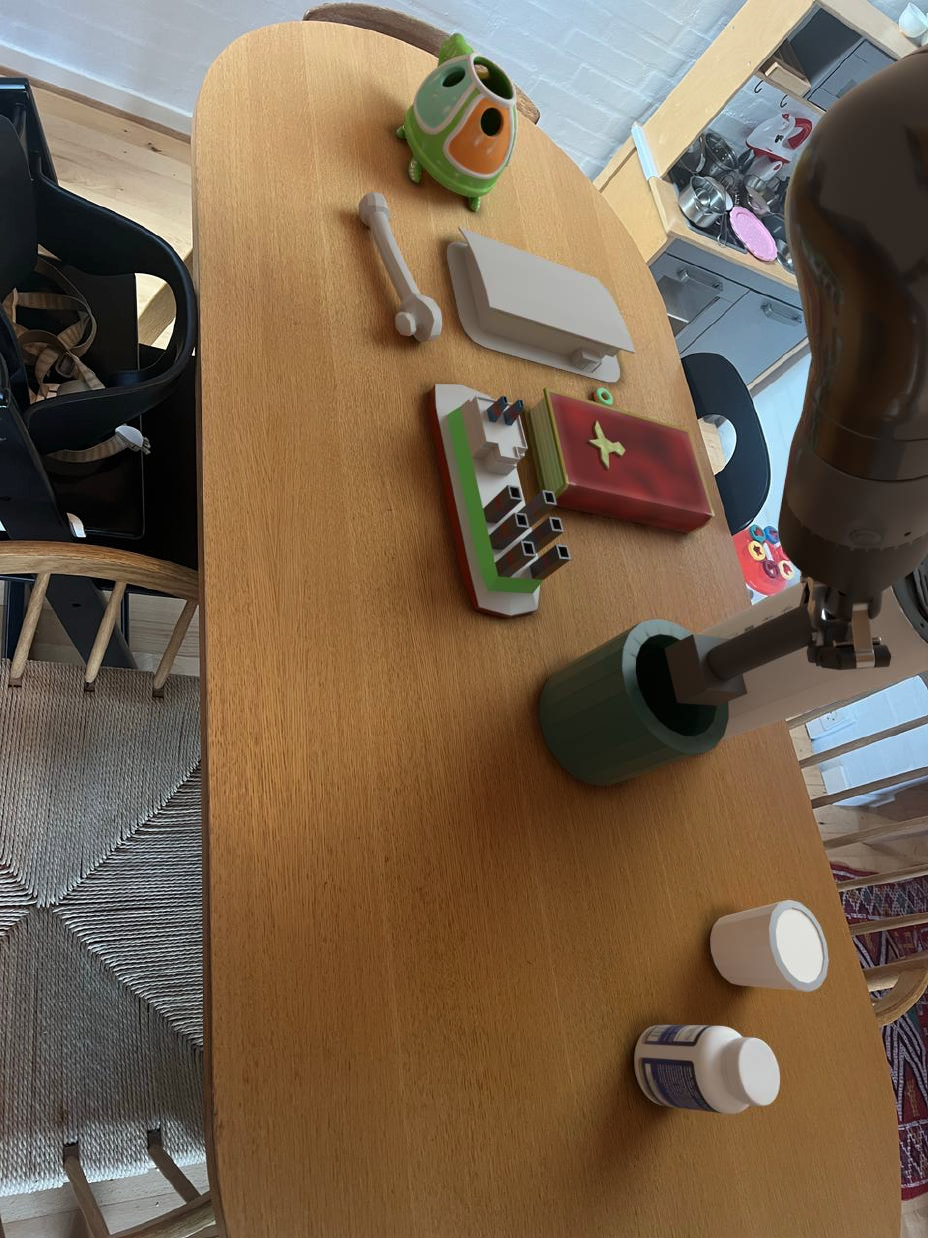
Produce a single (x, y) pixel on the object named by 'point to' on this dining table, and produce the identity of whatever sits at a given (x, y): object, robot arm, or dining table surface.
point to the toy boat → (492, 501)
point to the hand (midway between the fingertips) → (819, 635)
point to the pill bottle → (705, 1068)
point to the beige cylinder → (908, 624)
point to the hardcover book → (617, 463)
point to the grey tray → (536, 308)
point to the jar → (625, 709)
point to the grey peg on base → (732, 657)
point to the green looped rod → (605, 394)
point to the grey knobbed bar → (400, 274)
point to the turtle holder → (462, 122)
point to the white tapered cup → (771, 947)
